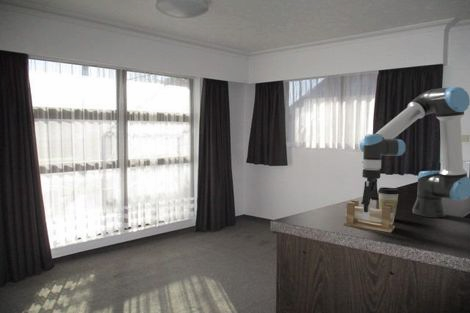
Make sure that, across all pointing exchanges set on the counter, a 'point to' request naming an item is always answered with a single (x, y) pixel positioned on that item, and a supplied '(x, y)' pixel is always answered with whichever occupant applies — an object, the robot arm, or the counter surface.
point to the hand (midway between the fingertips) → (369, 216)
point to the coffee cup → (388, 197)
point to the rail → (371, 214)
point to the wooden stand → (383, 226)
